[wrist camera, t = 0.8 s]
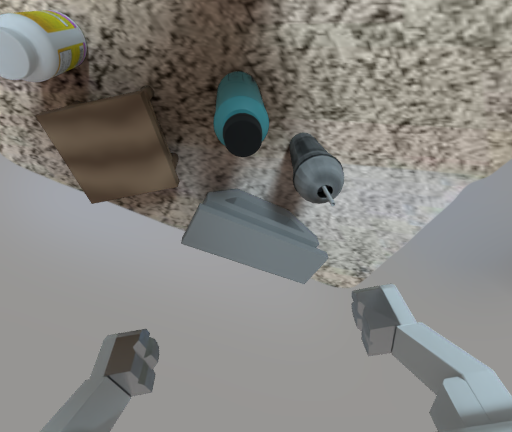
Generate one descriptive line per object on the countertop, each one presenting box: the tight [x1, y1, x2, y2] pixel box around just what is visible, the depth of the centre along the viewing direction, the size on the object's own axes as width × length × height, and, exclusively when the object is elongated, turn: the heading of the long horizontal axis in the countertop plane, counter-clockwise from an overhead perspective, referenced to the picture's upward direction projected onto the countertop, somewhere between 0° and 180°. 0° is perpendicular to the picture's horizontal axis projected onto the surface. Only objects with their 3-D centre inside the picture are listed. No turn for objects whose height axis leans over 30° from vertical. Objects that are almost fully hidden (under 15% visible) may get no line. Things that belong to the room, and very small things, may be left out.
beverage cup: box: [290, 133, 344, 206], centre depth 43 cm, size 7×7×20 cm
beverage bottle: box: [213, 71, 269, 157], centre depth 37 cm, size 6×7×20 cm
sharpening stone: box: [181, 189, 328, 284], centre depth 55 cm, size 25×8×11 cm, turn 61°
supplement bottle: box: [0, 10, 87, 82], centre depth 34 cm, size 7×7×13 cm
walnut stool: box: [36, 86, 179, 204], centre depth 44 cm, size 14×14×8 cm
